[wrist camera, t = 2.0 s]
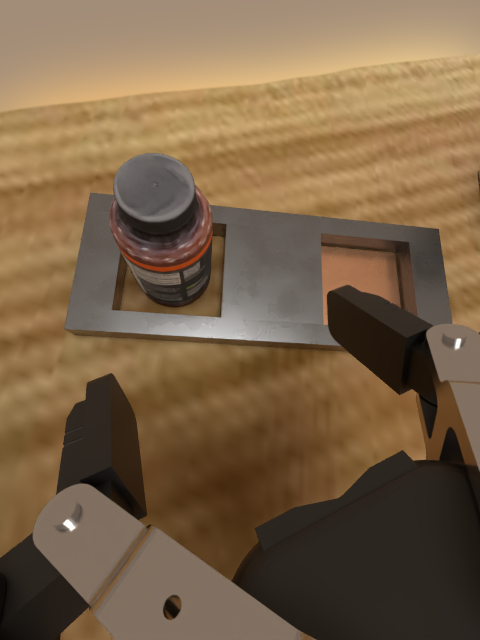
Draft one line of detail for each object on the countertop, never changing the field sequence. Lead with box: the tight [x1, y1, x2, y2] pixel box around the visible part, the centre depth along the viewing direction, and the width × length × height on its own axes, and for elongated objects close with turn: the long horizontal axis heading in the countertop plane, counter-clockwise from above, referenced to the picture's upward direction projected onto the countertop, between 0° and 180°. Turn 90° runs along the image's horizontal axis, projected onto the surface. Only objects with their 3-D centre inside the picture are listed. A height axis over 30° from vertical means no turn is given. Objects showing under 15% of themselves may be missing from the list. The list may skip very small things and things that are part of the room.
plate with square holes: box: [64, 193, 452, 351], centre depth 26 cm, size 30×11×2 cm, turn 88°
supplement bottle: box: [109, 153, 213, 306], centre depth 21 cm, size 6×6×11 cm
